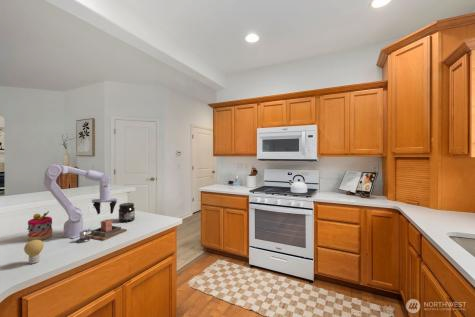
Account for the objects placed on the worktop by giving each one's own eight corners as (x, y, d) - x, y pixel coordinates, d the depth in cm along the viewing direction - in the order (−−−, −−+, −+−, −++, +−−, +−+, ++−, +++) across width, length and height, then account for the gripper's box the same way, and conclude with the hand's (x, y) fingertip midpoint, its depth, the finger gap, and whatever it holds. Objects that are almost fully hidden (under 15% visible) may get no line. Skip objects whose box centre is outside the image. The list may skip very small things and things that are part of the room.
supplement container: (120, 219, 160) (120, 203, 159) (135, 217, 163) (135, 202, 163) (117, 223, 150) (116, 206, 149) (133, 222, 153) (133, 205, 152)
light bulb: (47, 258, 100) (47, 237, 100) (35, 266, 93) (34, 243, 93) (33, 258, 100) (33, 237, 99) (20, 266, 93) (19, 243, 93)
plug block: (101, 232, 129) (100, 221, 129) (106, 230, 133) (106, 219, 133) (106, 233, 128) (105, 222, 128) (111, 231, 132) (111, 220, 132)
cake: (25, 243, 117) (24, 215, 116) (30, 236, 126) (30, 211, 125) (50, 238, 123) (50, 212, 122) (54, 233, 131) (53, 208, 131)
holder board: (84, 237, 125) (84, 232, 125) (108, 228, 141) (108, 223, 141) (103, 240, 121) (103, 235, 121) (126, 230, 136) (126, 226, 136)
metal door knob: (73, 242, 118) (73, 233, 118) (84, 238, 124) (84, 229, 124) (81, 243, 116) (81, 234, 116) (92, 239, 122) (92, 230, 122)
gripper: (89, 194, 132) (89, 215, 132) (114, 193, 134) (115, 214, 135) (94, 191, 139) (95, 212, 139) (119, 191, 141) (119, 211, 142)
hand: (105, 213), depth 137 cm, fingers open, 7 cm apart
